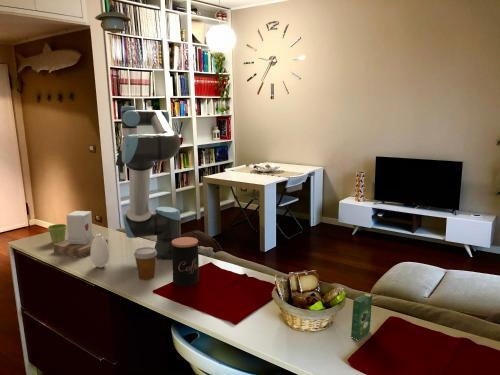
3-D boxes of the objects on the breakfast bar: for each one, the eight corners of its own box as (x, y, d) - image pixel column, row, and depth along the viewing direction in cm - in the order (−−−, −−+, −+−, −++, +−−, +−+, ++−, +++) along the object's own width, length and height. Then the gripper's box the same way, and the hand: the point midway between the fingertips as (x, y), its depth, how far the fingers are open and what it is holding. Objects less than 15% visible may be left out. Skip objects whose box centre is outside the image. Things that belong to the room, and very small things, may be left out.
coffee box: (362, 328, 137) (364, 291, 135) (370, 331, 135) (373, 294, 133) (350, 338, 131) (352, 299, 129) (358, 341, 129) (360, 302, 127)
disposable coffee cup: (162, 274, 180) (161, 248, 177) (150, 283, 171) (148, 255, 169) (143, 271, 183) (142, 245, 181) (130, 280, 174) (129, 252, 172)
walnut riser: (108, 246, 215) (107, 239, 214) (80, 258, 199) (79, 250, 198) (82, 241, 222) (81, 234, 221) (53, 252, 206) (53, 244, 205)
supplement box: (85, 244, 205) (83, 215, 202) (68, 244, 206) (65, 215, 203) (93, 239, 214) (91, 211, 211) (77, 238, 215) (74, 210, 212)
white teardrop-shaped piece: (88, 267, 188) (85, 228, 184) (104, 262, 193) (102, 225, 190) (96, 271, 182) (94, 232, 179) (113, 266, 188) (110, 228, 185)
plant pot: (63, 245, 217) (61, 229, 215) (45, 244, 217) (43, 228, 215) (71, 239, 226) (69, 224, 224) (53, 239, 226) (52, 223, 224)
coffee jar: (177, 290, 165) (176, 246, 161) (169, 280, 174) (168, 239, 171) (202, 284, 170) (201, 242, 166) (193, 275, 179) (192, 235, 176)
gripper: (140, 134, 227) (141, 172, 232) (106, 137, 205) (109, 180, 209) (151, 135, 224) (152, 173, 228) (118, 138, 202) (120, 181, 206)
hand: (131, 176), depth 219 cm, fingers open, 13 cm apart
